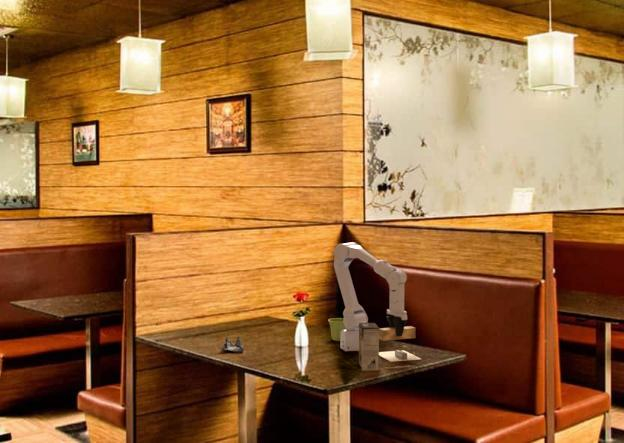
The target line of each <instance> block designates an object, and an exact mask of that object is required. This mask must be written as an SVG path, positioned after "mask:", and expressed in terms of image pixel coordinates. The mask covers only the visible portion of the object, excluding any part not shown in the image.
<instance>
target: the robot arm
mask: <svg viewBox="0 0 624 443" xmlns="http://www.w3.org/2000/svg"><path fill="white" fill-rule="evenodd" d="M332 254H333V257H334V259H333V268H334V271H335V275H336V279H337V283H338V286H339V289H340V293H341V296H342V299H343V304H344V307H345V308H344V310H343V312H342V316H343V318H344V320H343V322H344V325H345V327H346V329H345V330H342V331H341V335H340V341H339V342H340V343H339V344H340V349H341V350H343V351H344V352H355V351H356V352H359V323H369V322H368V321H369V317H368V315H367V313H366V311H365V309H364V308H363V306H362V305H360V304H359V301H358V298H357V294H356V290H355V288H354V284H353V280H352V276H351V273H350V270H349V267H350V265H351V263H352V262H353V260H354V259H359V260H360V261H363V262H364V263H366V264H368V265H369V266H371V267H373V271H374V272H375V273H376V274H377V275H380V277H382V278H384V279H385V280H386V282H387V283H388V288H389V308H387V309H386V315H387V316H385V318H386V320H387V322H388V324H389V328H393V327H395V329H396V336H397V337H398V336H402V334H403V330H404V327H406V324H407V323H408V314H407V313H408V312H407V311H406V310H405V283H406V282H407V280H408V275H407V272H406V271H404V269H400V268H399V269H397V266H393V265H391V264H390V263H389V262H388V260H387V259H378V258H376V257H375V256H373V255H372V254H371V253H370V252H368V251H367V250H366V249H364V248H363V247H362V246H361V245H359V244H358V243H357V242H354V241H352V242H346V243H338V244H336V246H335V248H334V249H333V251H332Z"/></svg>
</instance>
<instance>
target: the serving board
mask: <svg viewBox="0 0 624 443" xmlns="http://www.w3.org/2000/svg"><path fill="white" fill-rule="evenodd" d="M400 350H401V349H400ZM401 351H403V352H405V353H407V359H404V360H402V359H400V358H398V357H396V356H395V350H392V351H389V350H388V351H379V357H382V358H383V359H385V360H388V361H389V362H391V363H392V362H403V361H416V360H422V358H420V357H418V356H416V355H414V354H413V353H410V352H408V351H406V350H403V349H402V350H401Z"/></svg>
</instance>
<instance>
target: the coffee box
mask: <svg viewBox="0 0 624 443" xmlns="http://www.w3.org/2000/svg"><path fill="white" fill-rule="evenodd" d="M379 329H380V327H379V326H378V325H377V324H376V323H375V322H367V323H359V351H358V364H359V366H360V367H361V370H362V371H366V372H367V371H379V364H380V363H379V361H380V359H379V358H380V355H379V352H380V339H379Z"/></svg>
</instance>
